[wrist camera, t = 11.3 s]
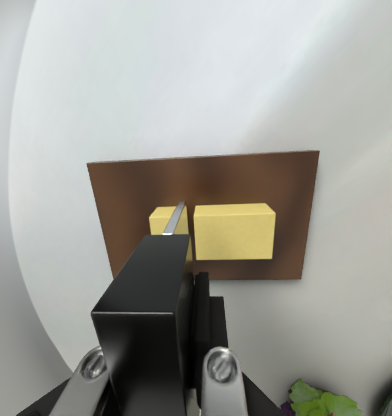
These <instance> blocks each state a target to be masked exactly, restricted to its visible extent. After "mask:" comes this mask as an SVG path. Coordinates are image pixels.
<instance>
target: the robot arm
mask: <svg viewBox="0 0 392 416" xmlns="http://www.w3.org/2000/svg"><path fill="white" fill-rule="evenodd" d="M194 290H195V293H194V305H193V316H192V327H191V353H192V364H193V375H194V386H195V389H196V397H197V405H198V406H199V408H200V409H201V416H286V415H285V414H284V413H283V412H282V411H281V410H280V409H279V408H278V407H277V406H276V405H275V404H274V403H273V402H272V401H271V400H270V399H269V398H268V397H267V396H266V395H265V394H264V393H263V392H262V391H261V390H260V389H259V388H258V387H257V386H256V385H255V384H254V383H253V382H252V381H251V380H250V379H249V378H248V377H247V376H246V375H245V374H244V373H243V372H242V370H241V365H240V361H239V359H238V357H237V356H236V354H235V353H234V352H233V351H232V350H230V349H228V339H227V330H226V320H225V310H224V300H223V297H210V295H209V272H199V274H195V284H194ZM16 416H121V413H120V410H119V407H118V403H117V400H116V397H115V393H114V390H113V387H112V383H111V380H110V377H109V373H108V370H107V367H106V363H105V360H104V357H103V353H102V350H101V347H100V346H97V347H95V348H93V349H92V350H90V351H89V352H88V353H87V354H86V355H85V356H84V357H83V359H82V360H81V361H80V363H79V365H78V366H77V368H76V370H75V372H74V373H73V375H72V377H70V378H69V379H67V380H66V381H65V382H63V383H62V384H61V385H59V386H57V387H56V388H55V389H53V390H52V391H51V392H49V393H47V394H46V395H44V396H43V397H42V398H40V399H39V400H38V401H36V402H34V403H33V404H32V405H30V406H29V407H27V408H26V409H24V410H23V411H21V412H20V413H19V414H17V415H16Z"/></svg>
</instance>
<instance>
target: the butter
mask: <svg viewBox="0 0 392 416" xmlns="http://www.w3.org/2000/svg"><path fill="white" fill-rule="evenodd" d="M275 217H276V213H275V212H274V211H273V210H272V209H271V208H270V207H269V206H268V205H267V204H266V203H257V204H229V205H201V206H196V207H195V212H194V230H195V246H196V260H235V259H272V253H273V241H274V229H275Z"/></svg>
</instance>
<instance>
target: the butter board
mask: <svg viewBox="0 0 392 416" xmlns="http://www.w3.org/2000/svg"><path fill="white" fill-rule="evenodd" d="M319 152H320V151H315V150H307V151H289V152H270V153H252V154H233V155H215V156H196V157H178V158H159V159H141V160H122V161H104V162H92V163H87V167H88V172H89V176H90V180H91V185H92V189H93V193H94V197H95V202H96V206H97V210H98V215H99V219H100V223H101V228H102V232H103V236H104V240H105V245H106V249H107V253H108V258H109V262H110V266H111V271H112V275H113V279H114V278H115V277H116V276H117V274H118V273H119V271H120V270H121V268H122V267H123V266H124V264H125V263H126V261H127V260H128V258H129V257H130V256H131V254H132V253H133V251H134V250H135V248H136V247H137V246H138V244H139V243H140V241H141V240H142V238H143V237H144V236H145V235H151V228H150V221H149V217H150V216H151V214H152V213H153V212H154V211H155V209H156V208H157V207H174V206H177V204H178V202H179V201H186V208H187V221H188V234H190V235H191V247H192V262H193V276H194V280H195V274H199V272H209V280H282V279H301V276H302V269H303V262H304V255H305V248H306V241H307V235H308V228H309V221H310V214H311V207H312V200H313V193H314V186H315V179H316V173H317V166H318V159H319ZM257 203H266V204H267V205H268V206H269V207H270V208H271V209H272V210H273V211H274V212H275V213H276V217H275V229H274V241H273V253H272V259H235V260H196V246H195V230H194V212H195V207H196V206H201V205H229V204H257Z"/></svg>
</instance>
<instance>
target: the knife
mask: <svg viewBox="0 0 392 416" xmlns="http://www.w3.org/2000/svg"><path fill="white" fill-rule="evenodd" d="M194 293H195V290H194V276H193V262H192V247H191V235H190V234H188V221H187V208H186V201H179V202H178V204H177V206H176V208H175V210H174V212H173V214H172V216H171V218H170V220H169V222H168V224H167V226H166V228H165V230H164V232H163V234H162V235H145V236H144V237H143V238H142V240H141V241H140V243H139V244H138V246H137V247H136V248H135V250H134V251H133V253H132V254H131V256H130V257H129V258H128V260H127V261H126V263H125V264H124V266H123V267H122V268H121V270H120V271H119V273H118V274H117V276H116V277H115V278H114V280H113V281H112V283H111V284H110V286H109V287H108V288H107V290H106V291H105V293H104V294H103V296H102V297H101V298H100V300H99V301H98V303H97V304H96V306H95V307H94V308H93V310H92V311H91V317H92V320H93V324H94V327H95V330H96V334H97V337H98V340H99V344H100V347H101V350H102V353H103V357H104V360H105V363H106V367H107V370H108V373H109V377H110V380H111V383H112V387H113V390H114V393H115V397H116V400H117V403H118V407H119V410H120V413H121V416H199V412H200V408H199V406H198V405H197V397H196V389H195V386H194V375H193V364H192V353H191V327H192V316H193V305H194Z"/></svg>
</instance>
